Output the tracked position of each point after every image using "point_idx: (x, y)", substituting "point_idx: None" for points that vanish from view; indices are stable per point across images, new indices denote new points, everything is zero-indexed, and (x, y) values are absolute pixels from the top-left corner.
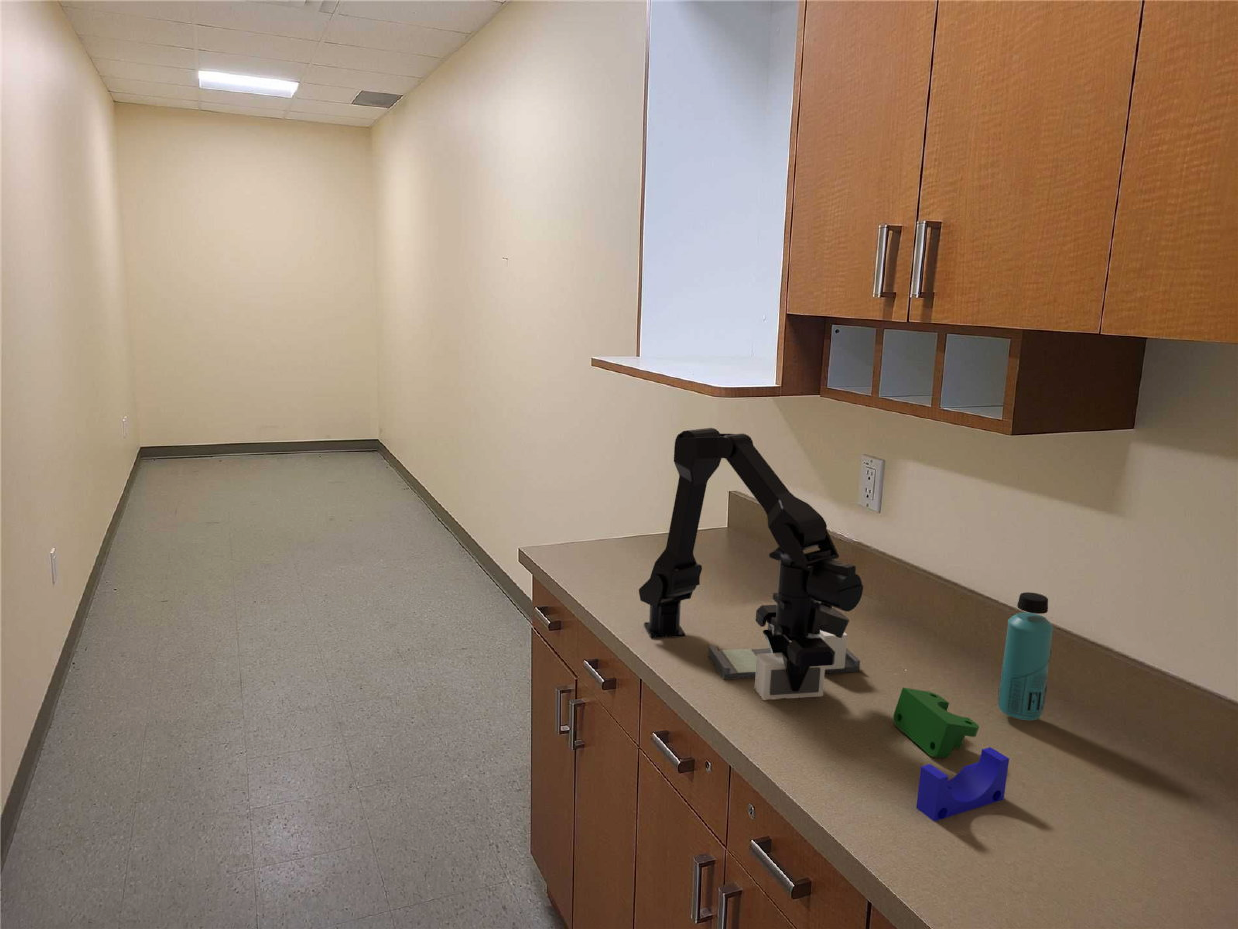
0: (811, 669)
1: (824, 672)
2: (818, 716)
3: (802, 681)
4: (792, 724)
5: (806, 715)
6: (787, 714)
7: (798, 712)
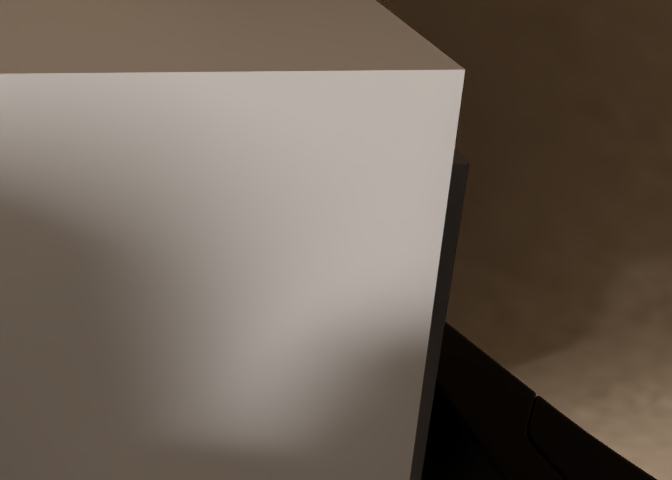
0: (442, 307)
1: (393, 18)
2: (654, 169)
3: (461, 339)
4: (661, 356)
5: (604, 246)
6: (544, 351)
7: (546, 283)
